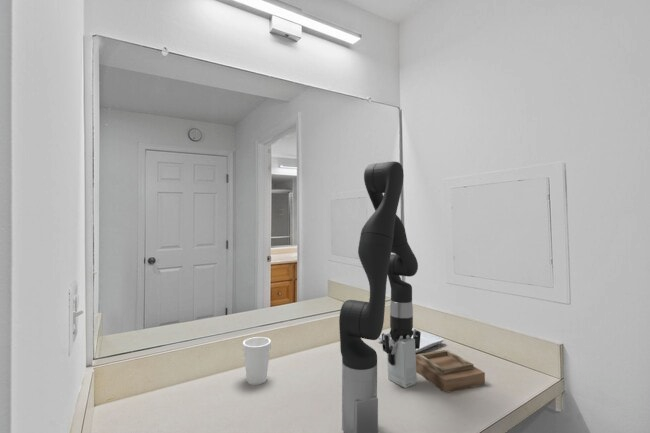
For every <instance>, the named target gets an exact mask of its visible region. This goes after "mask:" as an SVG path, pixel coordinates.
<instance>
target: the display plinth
mask: <svg viewBox="0 0 650 433" xmlns="http://www.w3.org/2000/svg"><path fill="white" fill-rule="evenodd" d="M416 373H417V374H418V375H420V376H422V377H423V378H424V379H425V380H427V381H429V383H431V384H432V385H434V386H435V387H436V388H438V389H439V390H441V391H442V392H443V393H450V392H455V391H460V390H466V389H471V388H475V387H480V386H484V385H485V384H486V380H485V379H486V373H485V371H483V370H481V369H480V368H478V367H475V366H474V364H473V363H472V362H470V361H468V360H467V359H464V358H463V357H461V356H460V355H458V354H456V353H454V352H452V351H450V350H449V349H443V350H441V349H440V350H437V351H429V352H422V353H416Z"/></svg>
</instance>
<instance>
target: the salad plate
mask: <svg viewBox="0 0 650 433" xmlns="http://www.w3.org/2000/svg"><path fill="white" fill-rule="evenodd" d="M414 329H415V328H412V330H414ZM419 331H420V332H421V335H420V348H419V349H416V350H415V352H416V354H419V353H421V352H423V351H425V350H428V349H430V348H432V347H436V346H437V345H439V344H441V343H443V342H444V341H445V338H443V337H440V336H437V335H434V334H431V333H428V332H425V331H421V330H419ZM389 333H390V331H387V332H385V333H384V334H389ZM382 334H383V333H381V334H380V336H379V338H378V339H377V340H379V341H381V342H382ZM411 338H413V335H412V337H411Z"/></svg>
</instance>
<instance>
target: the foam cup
mask: <svg viewBox="0 0 650 433" xmlns="http://www.w3.org/2000/svg"><path fill="white" fill-rule="evenodd" d="M271 349H272V340H271V339H270V338H269V337H265V336H255V337H254V336H253V337H250V338H249V337H248V338H246V339H244V340H243V342H242V352H243V358H244V367H245V373H246V374H245V375H246V381H247V383H248V384H250V385H261V384H263V383H265V382H266V381H267V377H268V368H269V362H270V361H269V360H270V354H271V352H270V351H271Z"/></svg>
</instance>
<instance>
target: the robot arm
mask: <svg viewBox="0 0 650 433" xmlns="http://www.w3.org/2000/svg"><path fill="white" fill-rule="evenodd" d="M404 176H405V175H404V169H403V166H402V164H401V162H399V161H386V162H379V163H371V164H368V165H367V166H366V167H365V169H364V172H363V180H364V185H365V188H366V191H367V195H368V197H369V199H370V201H371V204H372V206H373V208H374V210H375V211H374V212H373V214H372V215H371V216H370V217H369V218H368V219H367V220H366V222H365V224H364V225H363V227H362V229H361V232H360V236H359V242H358V247H357V248H358V249H357V253H358V257H359V261H360V263H361V266H362V268H363V271H364V272H365V275H366V278H367V280H368V285H369V298H368V300H369V301H365V300H364V301H362V300H355V299H348V300H345V301H344V302H343V304H341V307H340V310H339V311H340V312H339V317H338V318H339V320H338V322H339V323H338V324H339V325H338V326H339V328H338V329H339V341H340V342H339V344H340V345H339V347H340V349H339V350H340V355H341V359H342V360H341V361H342V364H341V366H342V368H341V428H342V430H343V432H344V433H379V398H378V354H377V351H376V350H375V349H374V348H373V347H371V346H370V345H368V344H367V343H366V342H365V341H364V340H369V341H370V340H371V341H376V340H379V339H378V338H379V336H380V335H381V334H382V341H381V343H382V351H383V352H384V353H386V355H387V354H388V360H387V363H388V362H389V363H390V364H391V365H392V366H393V365H395V355H394V353H395V351H396V349H397V348H398V341H399V340H402V339H405V338H406V339H410V338H411V337H412V335H413V339H415V350H416V349H419V348H420V335H421V332H420V331H421V330H418V329H416V328H414V318H413V317H414V315H413V314H414V305H413V287H412V284H410V283H408V282H406V281H404V280H403V279H402V278H401V277H413V276H415V275H416V274H417V272H418V269H419V264H418V260H417V257H416V255H415V253H414V251H413V250H412V248H411V247H410V244H409V242H408V237H407V233H406V229H405V225H404V223H403V221H402V220H401V218H400V217H399V216H398V214H397V212H398V207H399V203H400V198H401V196H402V195H401V194H402V190H403V186H404V185H403V184H404ZM387 281H388V282H389V285H390V305H389V327H390V331H389V332H390V333H389V334H384V333H382V332H383V328H384V322H385V309H386V294H387ZM412 329H414V330H412ZM390 337H391V338H392V340H394V342H396V343H395V345H394V344H392V343H391V342H390V346H389V341H390ZM396 340H397V341H396ZM392 346H393V348H392Z"/></svg>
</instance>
